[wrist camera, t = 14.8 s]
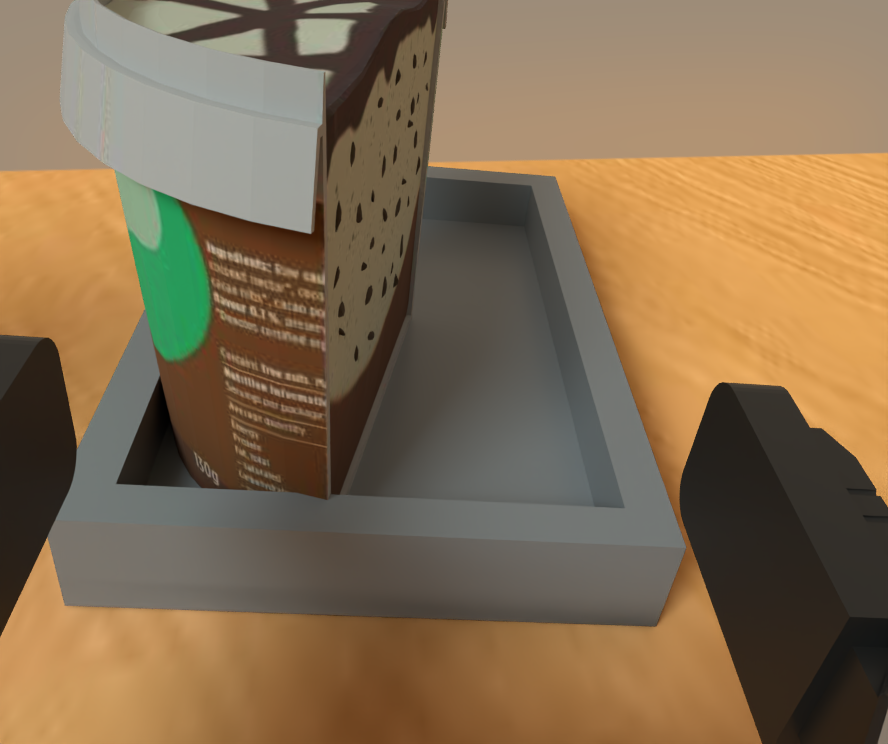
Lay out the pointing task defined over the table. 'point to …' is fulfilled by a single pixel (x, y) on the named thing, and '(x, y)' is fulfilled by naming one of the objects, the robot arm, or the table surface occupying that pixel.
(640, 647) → the table surface
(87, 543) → the tray
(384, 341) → the food container
